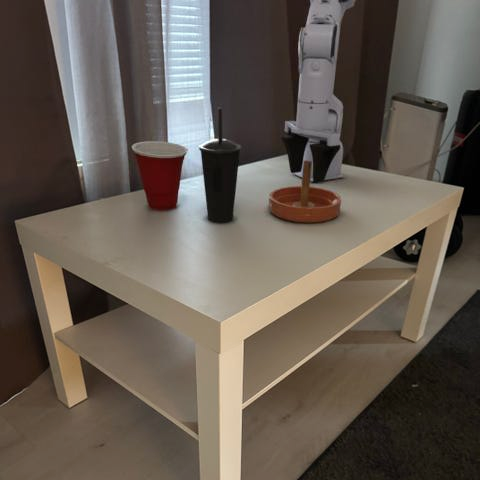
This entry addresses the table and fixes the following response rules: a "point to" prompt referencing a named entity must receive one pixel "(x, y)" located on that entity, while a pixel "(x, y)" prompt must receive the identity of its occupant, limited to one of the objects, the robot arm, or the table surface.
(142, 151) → the plastic cup
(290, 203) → the bowl
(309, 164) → the stirring stick
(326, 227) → the table surface
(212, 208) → the drinking cup
